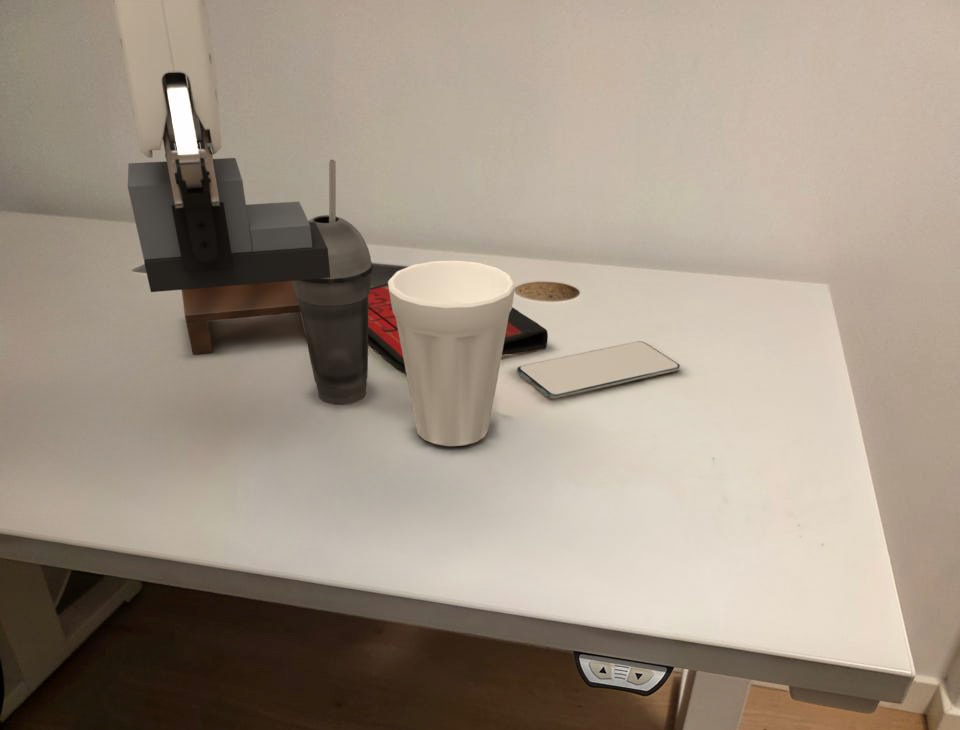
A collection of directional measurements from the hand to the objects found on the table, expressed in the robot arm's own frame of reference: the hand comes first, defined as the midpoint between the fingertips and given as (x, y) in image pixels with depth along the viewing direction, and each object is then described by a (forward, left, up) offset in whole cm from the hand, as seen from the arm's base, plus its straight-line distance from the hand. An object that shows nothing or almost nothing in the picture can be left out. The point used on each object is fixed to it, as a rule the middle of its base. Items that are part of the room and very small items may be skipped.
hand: (205, 250), depth 62 cm
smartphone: (+35, +10, -17) cm, 40 cm away
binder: (+22, +25, -18) cm, 38 cm away
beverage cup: (+10, +12, -18) cm, 24 cm away
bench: (+4, +29, -17) cm, 34 cm away
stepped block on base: (+2, 0, -1) cm, 2 cm away
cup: (+18, +2, -18) cm, 25 cm away
